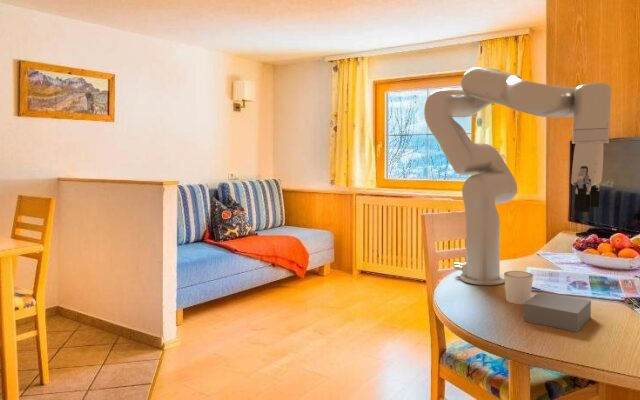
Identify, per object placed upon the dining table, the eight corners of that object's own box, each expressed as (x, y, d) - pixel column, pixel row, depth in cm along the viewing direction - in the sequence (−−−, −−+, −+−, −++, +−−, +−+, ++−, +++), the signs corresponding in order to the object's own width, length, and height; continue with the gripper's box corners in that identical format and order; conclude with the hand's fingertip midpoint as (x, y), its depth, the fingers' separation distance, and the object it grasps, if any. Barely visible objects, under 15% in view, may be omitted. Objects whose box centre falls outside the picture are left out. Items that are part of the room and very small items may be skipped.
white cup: (520, 306, 116) (520, 278, 115) (497, 299, 122) (497, 272, 121) (538, 301, 119) (539, 274, 118) (516, 295, 125) (516, 269, 124)
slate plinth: (523, 320, 106) (523, 303, 106) (539, 307, 114) (539, 291, 114) (577, 331, 99) (577, 313, 99) (590, 317, 107) (590, 300, 107)
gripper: (581, 137, 120) (578, 204, 122) (563, 137, 107) (560, 212, 109) (615, 136, 115) (611, 206, 117) (601, 137, 102) (597, 215, 104)
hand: (587, 209), depth 113 cm, fingers open, 9 cm apart
